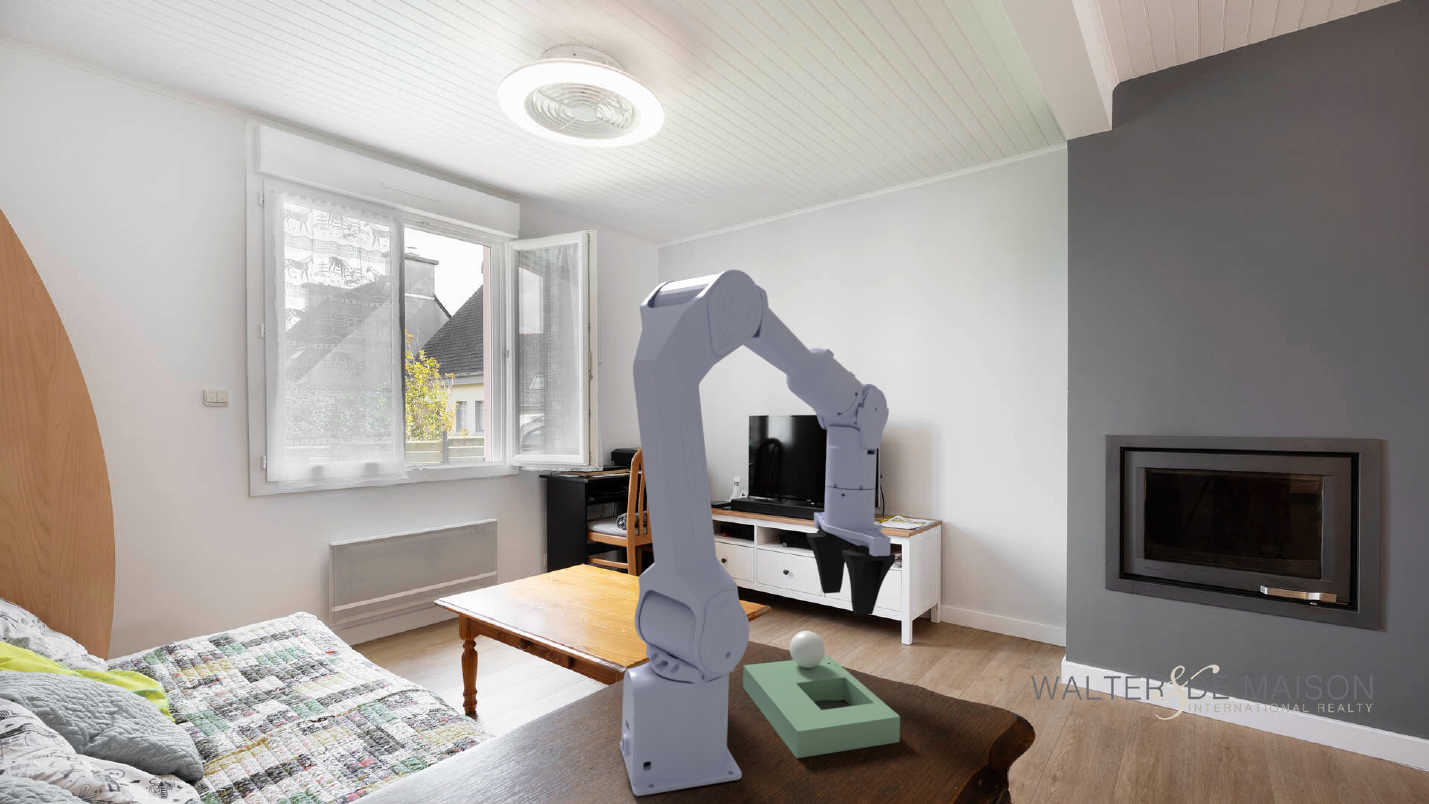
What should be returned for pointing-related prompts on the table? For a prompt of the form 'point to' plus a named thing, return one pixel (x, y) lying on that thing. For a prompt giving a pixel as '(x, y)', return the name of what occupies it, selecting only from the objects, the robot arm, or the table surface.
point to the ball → (807, 649)
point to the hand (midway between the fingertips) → (846, 602)
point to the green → (819, 707)
